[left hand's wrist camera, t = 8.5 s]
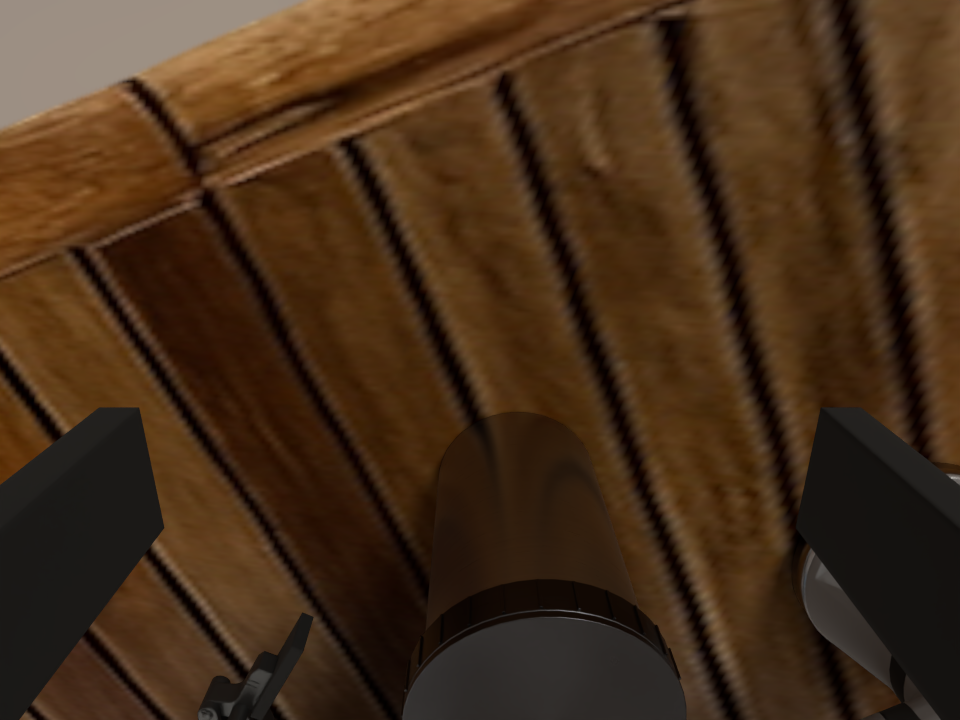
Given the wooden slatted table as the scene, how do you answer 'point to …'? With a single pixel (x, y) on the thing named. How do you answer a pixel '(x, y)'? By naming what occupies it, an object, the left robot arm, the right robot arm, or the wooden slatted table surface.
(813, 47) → the wooden slatted table surface
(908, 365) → the wooden slatted table surface
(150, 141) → the wooden slatted table surface
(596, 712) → the lid
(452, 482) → the jar
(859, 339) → the wooden slatted table surface
